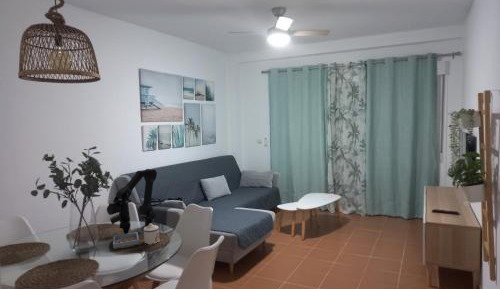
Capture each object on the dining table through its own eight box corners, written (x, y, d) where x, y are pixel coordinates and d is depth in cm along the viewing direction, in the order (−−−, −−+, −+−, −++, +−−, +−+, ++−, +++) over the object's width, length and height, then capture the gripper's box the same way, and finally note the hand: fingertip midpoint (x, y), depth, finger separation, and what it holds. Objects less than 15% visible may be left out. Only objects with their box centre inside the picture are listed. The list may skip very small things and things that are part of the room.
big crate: (114, 241, 206) (113, 235, 206) (138, 237, 211) (137, 231, 211) (113, 250, 193) (113, 244, 193) (139, 245, 198) (138, 239, 198)
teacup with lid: (158, 244, 198) (157, 225, 197) (143, 246, 197) (141, 227, 196) (161, 237, 210) (160, 219, 209) (146, 238, 209) (145, 220, 208)
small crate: (121, 235, 215) (120, 226, 214) (131, 234, 217) (130, 225, 216) (121, 239, 209) (120, 229, 209) (131, 237, 212) (130, 228, 211)
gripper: (110, 208, 217) (112, 231, 219) (109, 216, 200) (111, 241, 202) (129, 205, 221) (130, 228, 223) (129, 213, 204) (131, 238, 205)
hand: (126, 234), depth 213 cm, fingers closed on small crate, 6 cm apart
